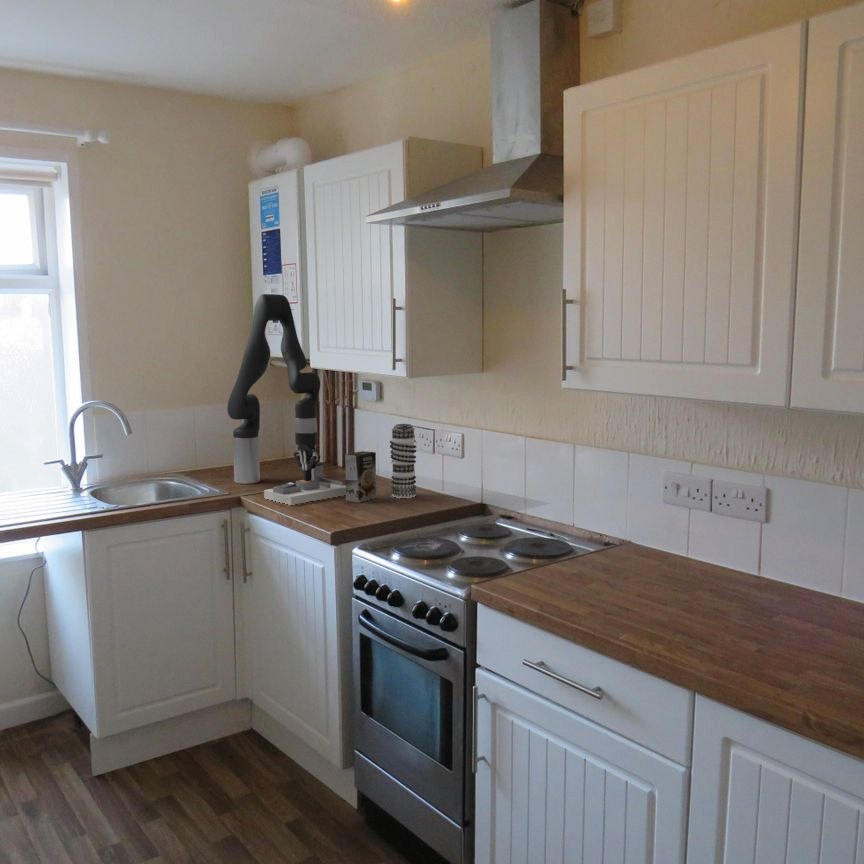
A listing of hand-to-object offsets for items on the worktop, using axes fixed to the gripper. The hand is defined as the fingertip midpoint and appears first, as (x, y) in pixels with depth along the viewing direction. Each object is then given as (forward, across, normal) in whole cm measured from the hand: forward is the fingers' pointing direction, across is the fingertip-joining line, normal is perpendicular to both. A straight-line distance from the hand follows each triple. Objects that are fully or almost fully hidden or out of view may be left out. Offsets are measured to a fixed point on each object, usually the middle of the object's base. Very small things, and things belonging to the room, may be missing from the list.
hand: (307, 480), depth 295 cm
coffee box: (+6, +17, +10) cm, 21 cm away
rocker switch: (+1, 0, -8) cm, 9 cm away
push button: (+2, 0, 0) cm, 2 cm away
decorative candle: (+6, +23, +24) cm, 34 cm away
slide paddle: (+2, -6, +8) cm, 11 cm away
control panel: (+6, 0, 0) cm, 6 cm away
